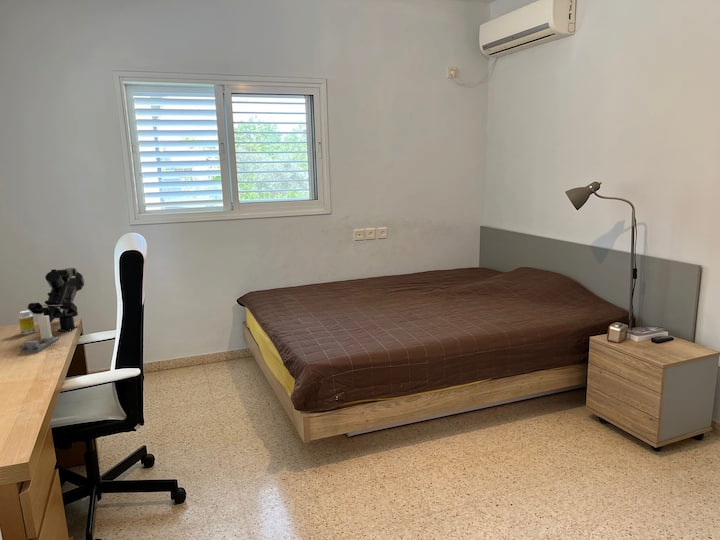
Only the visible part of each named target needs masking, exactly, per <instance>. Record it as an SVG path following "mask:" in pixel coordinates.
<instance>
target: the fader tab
mask: <svg viewBox="0 0 720 540" xmlns="http://www.w3.org/2000/svg"><path fill="white" fill-rule="evenodd" d="M37 320H38V327H39V332H40V339H39V340H40V341H49V340H51V339H52V338H54V337H55V336H54V335H53V334H52V327H51V323H50V319H49V315H46V316H44V315H39V316H38V317H37Z"/></svg>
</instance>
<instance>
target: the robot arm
mask: <svg viewBox="0 0 720 540" xmlns="http://www.w3.org/2000/svg"><path fill="white" fill-rule="evenodd" d="M44 278H45V281H46V282H47V283H48V284H47V285H49V287H50V288H51V289H50V292H47V296H48V297H47V300H45V301H44V304H41V303H40V302H30V303H29V304H28V305H27V309H28V310H29V311H30V313H31V314H32V315H33V314H34V315H42V314H43V316H46V315H49V319H50V324H51V323H52V322H54V319H59V321H58V322H59V325H60V326H59V328H58V329H57V331H58V330H70V329H71V331H73V330H75V329H76V328H75V326H76V327H77V326H78V325H75V319H74V317H77V316H79V314H78V313H79V312H78V306H77V305H76V304H75V303H74V300H75V298H76V295H77V292H79V291H81V290H82V289H83V288H84V286H85V280H84V277H83V274H81V273H80V272H78V270H77V269H76V268H75V267H73V268H72V267H71V268H70V267H68V268H65V269H51V270H50V271H49V272H47V273H46V275H45V277H44ZM74 328H75V329H74ZM77 328H78V327H77ZM72 329H73V330H72Z"/></svg>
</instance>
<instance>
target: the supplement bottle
mask: <svg viewBox="0 0 720 540" xmlns="http://www.w3.org/2000/svg"><path fill="white" fill-rule="evenodd" d="M17 319H18V324H19V330H20V333H21V334H22V335H31V334H34V333H35V332H36V328H35V327H36V326H35V322H34V321H35V320H34V315H33V314H32V313H31V311H30V310H29V309H28V310H27V309H26V310H21V311H19V316H18V318H17ZM33 332H34V333H33ZM30 333H31V334H30Z"/></svg>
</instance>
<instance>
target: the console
mask: <svg viewBox="0 0 720 540" xmlns="http://www.w3.org/2000/svg"><path fill="white" fill-rule="evenodd" d="M53 337H54V338H52V339H51V340H49V341H40V339H39V340H27V341H24V342H23V345H22V346H21V350H20V351H19V353H20V354H38V352H39V353H41V352H42V351H44V350H45V349H47V348H49V347H51V346H52V345H53V343H54V344H55V343H57V342H58V340H59V339H60V337H58V336H57V337H55V336H53ZM56 341H57V342H56ZM59 341H60V340H59ZM51 344H52V345H51ZM48 346H49V347H48ZM43 349H44V350H43Z"/></svg>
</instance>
